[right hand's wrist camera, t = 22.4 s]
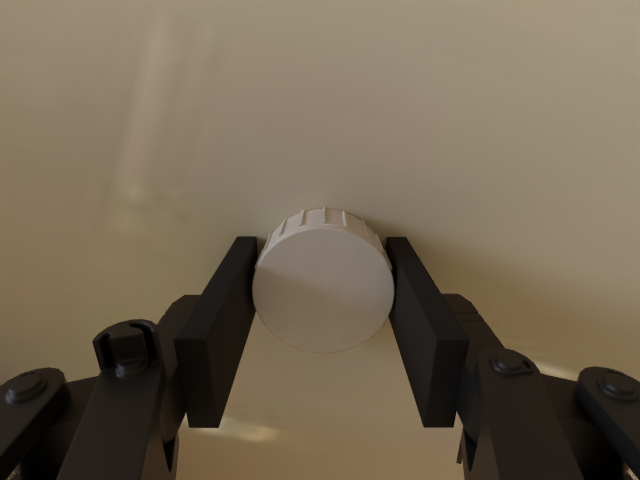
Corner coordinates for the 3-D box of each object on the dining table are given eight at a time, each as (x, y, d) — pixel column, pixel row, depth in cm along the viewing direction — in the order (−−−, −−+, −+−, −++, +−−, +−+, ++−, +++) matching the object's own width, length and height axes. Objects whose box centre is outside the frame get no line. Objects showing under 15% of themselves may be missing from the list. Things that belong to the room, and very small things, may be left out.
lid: (274, 326, 16) (266, 361, 14) (248, 216, 14) (234, 238, 12) (390, 311, 15) (401, 346, 13) (380, 197, 13) (389, 215, 11)
